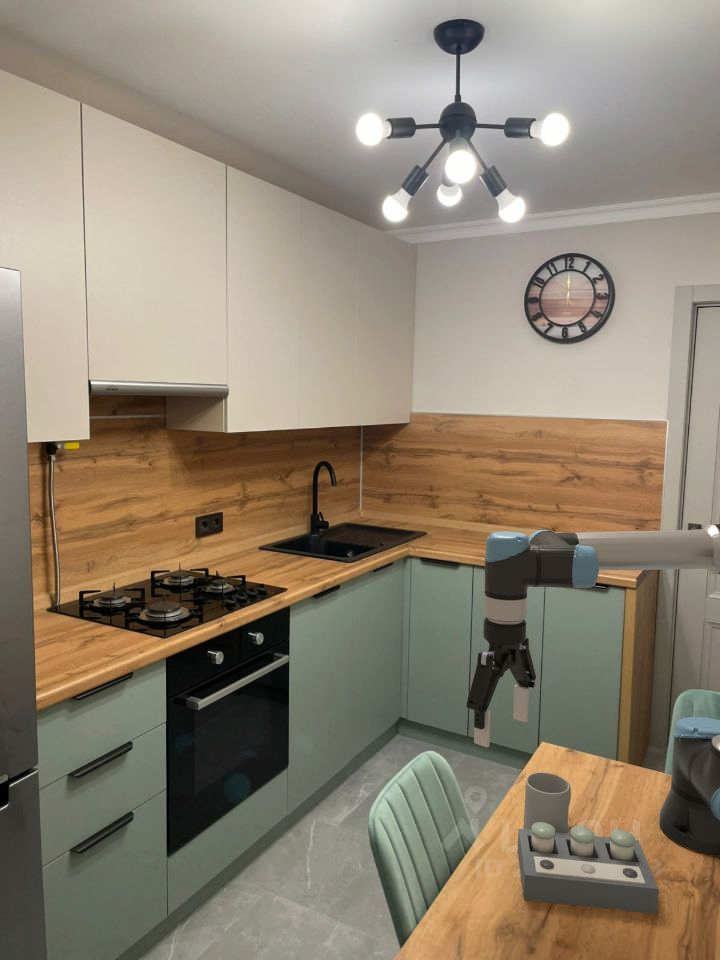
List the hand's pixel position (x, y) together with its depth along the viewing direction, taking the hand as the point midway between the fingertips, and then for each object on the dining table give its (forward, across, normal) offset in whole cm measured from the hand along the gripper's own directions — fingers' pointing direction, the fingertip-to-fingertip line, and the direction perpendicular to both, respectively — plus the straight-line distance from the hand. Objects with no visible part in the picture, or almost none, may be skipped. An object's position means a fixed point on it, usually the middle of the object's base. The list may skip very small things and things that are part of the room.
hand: (501, 732), depth 132 cm
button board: (+26, -6, +14) cm, 30 cm away
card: (+21, -3, +16) cm, 27 cm away
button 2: (+22, -12, +18) cm, 31 cm away
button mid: (+22, -8, +12) cm, 27 cm away
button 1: (+22, -5, +7) cm, 24 cm away
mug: (+26, -16, +2) cm, 30 cm away
